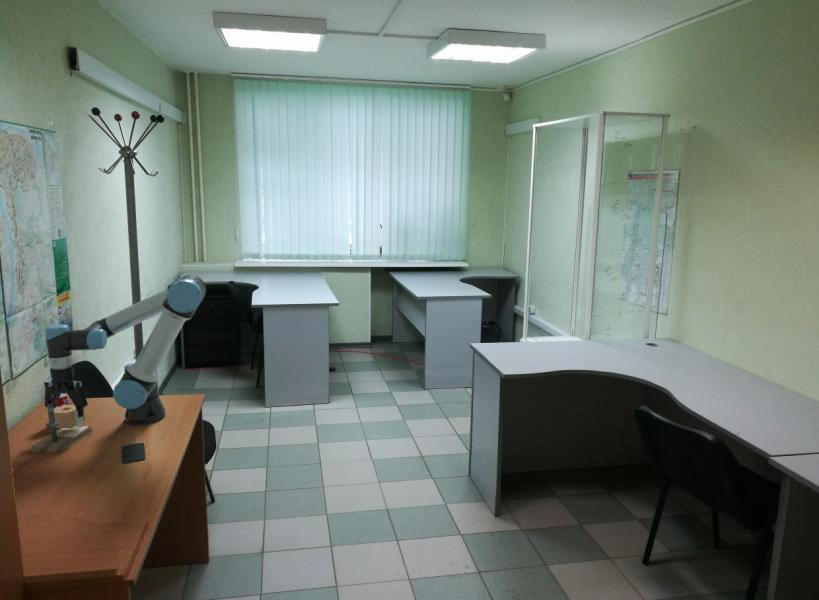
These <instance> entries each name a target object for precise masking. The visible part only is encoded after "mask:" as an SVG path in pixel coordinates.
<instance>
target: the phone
mask: <svg viewBox="0 0 819 600" xmlns="http://www.w3.org/2000/svg"><path fill="white" fill-rule="evenodd" d="M145 447H146V446H145V443H144V442H137V443H133V444H127V445H123V446H122V447H121V463H123V465H126V463H127V464H132V462H133V463H137V462H142V461H145V460H146V452H145V451H146V448H145Z"/></svg>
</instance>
